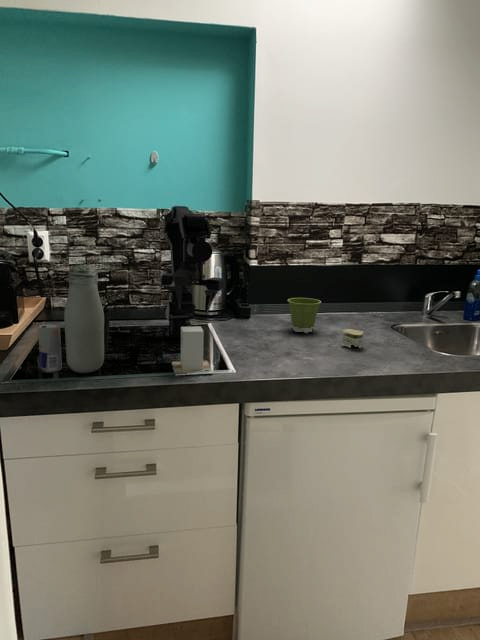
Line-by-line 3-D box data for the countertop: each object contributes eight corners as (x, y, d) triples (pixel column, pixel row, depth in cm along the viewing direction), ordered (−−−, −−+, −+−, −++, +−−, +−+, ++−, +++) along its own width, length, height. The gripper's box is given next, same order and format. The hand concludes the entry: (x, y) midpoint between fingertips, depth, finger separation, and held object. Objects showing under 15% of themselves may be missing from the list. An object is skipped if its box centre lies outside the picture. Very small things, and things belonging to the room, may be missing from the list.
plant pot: (324, 330, 187) (326, 300, 185) (310, 337, 178) (312, 305, 175) (295, 325, 193) (296, 296, 191) (280, 332, 184) (281, 300, 181)
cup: (116, 348, 158) (115, 310, 156) (102, 355, 151) (100, 315, 149) (94, 345, 161) (93, 307, 158) (79, 352, 154) (77, 312, 151)
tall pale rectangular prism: (180, 364, 143) (180, 326, 141) (200, 363, 144) (200, 326, 142) (182, 370, 138) (183, 331, 136) (203, 369, 139) (203, 331, 137)
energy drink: (43, 366, 140) (41, 323, 138) (64, 366, 141) (62, 323, 138) (38, 372, 135) (35, 328, 132) (59, 372, 136) (56, 328, 133)
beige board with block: (171, 364, 145) (171, 348, 144) (207, 363, 147) (207, 347, 146) (174, 376, 136) (175, 360, 135) (212, 374, 138) (213, 358, 137)
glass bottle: (70, 380, 131) (65, 269, 124) (63, 367, 140) (58, 263, 133) (109, 374, 135) (106, 268, 129) (100, 363, 144) (97, 262, 138)
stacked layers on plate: (331, 347, 168) (332, 331, 167) (346, 342, 174) (347, 326, 173) (358, 354, 161) (360, 337, 160) (373, 349, 168) (374, 332, 166)
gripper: (150, 258, 146) (151, 312, 150) (210, 263, 139) (209, 319, 143) (170, 254, 156) (170, 305, 160) (227, 259, 149) (225, 312, 153)
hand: (192, 310), depth 154 cm, fingers open, 9 cm apart
